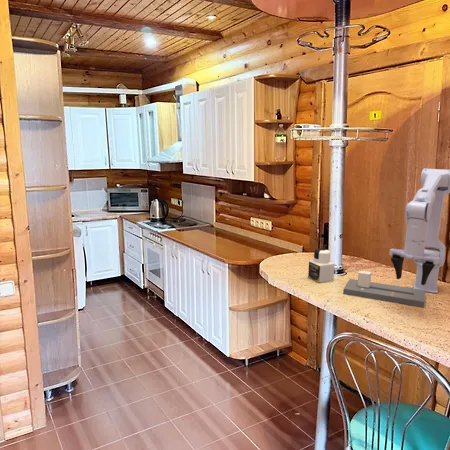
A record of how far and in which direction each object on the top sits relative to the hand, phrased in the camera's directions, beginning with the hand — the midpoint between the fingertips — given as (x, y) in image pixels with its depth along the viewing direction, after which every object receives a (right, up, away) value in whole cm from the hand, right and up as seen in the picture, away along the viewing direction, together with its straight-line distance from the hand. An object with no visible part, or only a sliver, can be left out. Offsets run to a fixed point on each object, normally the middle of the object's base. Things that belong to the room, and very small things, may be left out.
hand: (410, 281), depth 131 cm
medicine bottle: (-21, -4, +31) cm, 38 cm away
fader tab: (-9, -4, +18) cm, 20 cm away
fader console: (-3, -7, +15) cm, 17 cm away
